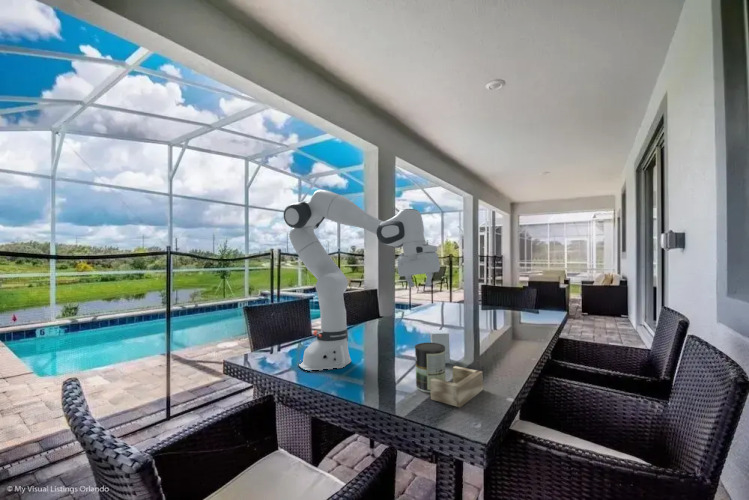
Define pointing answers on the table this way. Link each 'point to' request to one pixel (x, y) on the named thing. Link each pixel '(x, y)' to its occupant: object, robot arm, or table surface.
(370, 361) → the table surface
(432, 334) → the supplement box
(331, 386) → the table surface
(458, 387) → the wooden dock
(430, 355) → the coffee can
